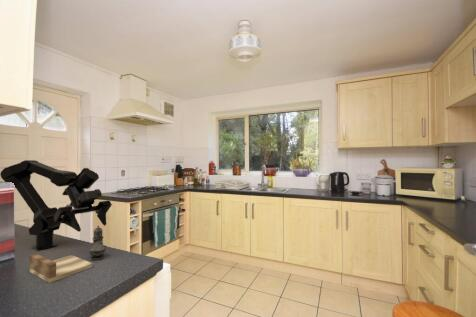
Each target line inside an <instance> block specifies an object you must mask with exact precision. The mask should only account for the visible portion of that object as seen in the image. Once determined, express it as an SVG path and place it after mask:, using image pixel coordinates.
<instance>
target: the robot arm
mask: <svg viewBox="0 0 476 317" xmlns="http://www.w3.org/2000/svg"><path fill="white" fill-rule="evenodd" d="M32 174H37V175H39V176H41V177H43V178H46V179H48V180H50V183H51V184H53V185H55V186H56V187H59V188H60V187H65V188H64V190H63V192H62V196H68V198H69V201H70V203H69V205H66V206H61V207H58V208H57V207H49V206H48V205H47V204H46V202H45V201H44V200H43V198H42V197H41V195H40V193H39V192H38V191H37V190H36V188H35V187H34V185H33V184H32V182H31V178H32ZM0 178H1V179H2V180H3V181H4V183H6V182H12V183H14V185H15V187H14V188H15V189H16V190H17V192H18V193H19V194H20V196H21V198H22V199H23V200H24V202H25V203H26V205H27V207H28V208H29V209H30V211H31V212H32V213H33V219H32V222H33V224H32V225H31V226H30V227H29V229H28V234H29V235H30V236H35V241H34V242H35V243H34V244H35V245H32V246H31V248H32V249H34V250H36V251H42V250H47V249H49V248H53V247H57V246H58V244H57V243H54V236H55V235H54V231H57V230H59V229H60V227H61V224H64V225H67V226H68V227H70V228H72V229H74V230H75V231H76V232H78V233H79V232H81V230H82V229H81V226H80V224H79V221H78V219H77V218H76V215H79V214H85V213H87V214H88V213H92V212H95V214H96V217H97V218H98V219H99V221H100V223H101V224H102V225H103V226H104V227H105V226H107V213H108V211H109V210H110V208H111V207H112V206H113V204H112V202H111V200H103V201H99V202H98V203H97V205H94V204H95V201H96V200H97V199H99V198H101V197H102V196H103V194H102V191H101V190H100V188H98V189H97V188H96V189H94V190H87V189H90V188H91V187H92V186H93V185H94V184H95V183H96V182H97V181H98V180H99V179H100V176H99V175H98V173H97V172H95V171H93V170H91V169H90V168H88V167H83V168H82V169H81V171H80V172H79V173H78V174H77V172H74V171H68V170H62V169H57V168H54V167H52V166H49V165H47V164H44V163H41V162H39V161H38V160H35V159H32V160H31V159H28V160H27V159H25V160H22V161H20V162H18V163H16V164H12V165H9V166H7V167H5V168H3V169H2V170H1V171H0ZM86 190H87V191H86Z"/></svg>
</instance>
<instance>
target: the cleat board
mask: <svg viewBox="0 0 476 317" xmlns="http://www.w3.org/2000/svg"><path fill="white" fill-rule="evenodd" d="M93 264H94V263H93V262H91V261H87V260H86V259H82V258H81V257H78V256H75V255H73V254H70V255H67V256H64V257H59V258H57V259H54V260H50V259H49V258H46V257H44V256H43V255H41V254H38V253H33V254H30V255H29V270H28V272H29V273H31V274H32V275H35V276H36V277H38V278H40V279H42V280H43V281H45V282H47V283H49V284H51V283H53V282H56V281H59V280H62V279H64V278H67V277H69V276H72V275H75V274H77V273H80V272H82V271H85V270H88V269H90V268H93Z"/></svg>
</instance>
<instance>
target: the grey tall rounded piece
mask: <svg viewBox="0 0 476 317" xmlns="http://www.w3.org/2000/svg"><path fill="white" fill-rule="evenodd" d="M103 238H104V236H103V229H102V227H100V226H99V225H97V226H96V228H94V229H93V237H92V240H93V241H92V242H93V243H92V247H89V248H88V253H89V255H90V256H91V257H89V259H88V260H89V262H97V261H102V260H104V259H106V258H107V257H106V256H107V255H106V254H105V252H106V250H107V248H108V247H107V245H104V243H103V241H104V240H103Z"/></svg>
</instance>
